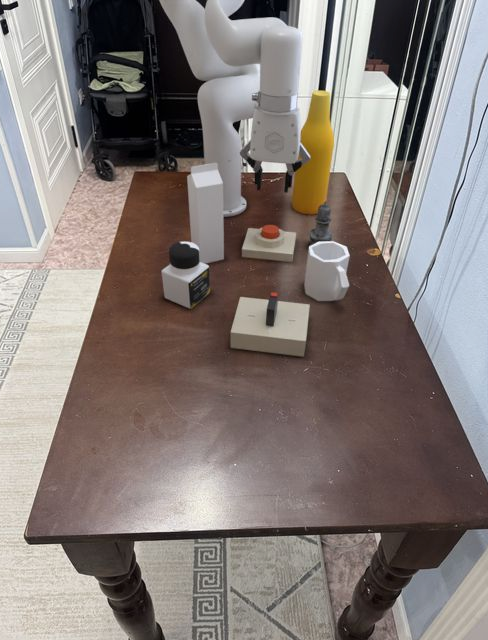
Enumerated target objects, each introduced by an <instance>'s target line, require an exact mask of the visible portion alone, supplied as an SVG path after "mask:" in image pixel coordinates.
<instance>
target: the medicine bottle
mask: <svg viewBox="0 0 488 640" xmlns="http://www.w3.org/2000/svg"><path fill="white" fill-rule="evenodd" d="M168 257H169V264H168V265H166V266H165V267H164V268H163V269H161V279H162V280H161V281H162V288H163V296H164V299H166V300H168V301H170V302H173V303H176V304H177V305H180V306H183V307H185V308H187V309H188V310H189V309H190V310H191V309H193V308H194V307H195V306H196V305H198V304H199V303H200V302H201V301H202V300H203V299H204V298H205V297H207V296H208V295H209V294H210V293H211V285H210V265H208V263H206V264H204V263H201V262H200V255H199V247H198V246H197V245H196V244H194V243H192V242H191V241H186V240H185V241H178V242H174V243H173V244H171V246H170V247H169V248H168Z"/></svg>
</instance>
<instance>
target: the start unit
mask: <svg viewBox="0 0 488 640" xmlns="http://www.w3.org/2000/svg"><path fill="white" fill-rule="evenodd" d="M296 240H297V232H295V231H284V230H283V229H281V228H279V236H278V238H275V239H266V238H264V237H262V227H260V228H255V227H254V228H253V227H248V228H247V231H246V235H245V237H244V241H243V244H242V247H241V258H248V259H249V258H250V259H258V260H269V261H278V262H288V263H293V260H294V253H295V246H296Z"/></svg>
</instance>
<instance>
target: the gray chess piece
mask: <svg viewBox="0 0 488 640" xmlns="http://www.w3.org/2000/svg"><path fill="white" fill-rule="evenodd" d="M331 211H332V208H331V206H330V205H329V204H328V202H327V200H326V201H325V202H324V204H322V205H320V206H319V208H318V214H316V215H317V216H316V217H315V218H314V220H315V227H314V228H312V229H310V230H309V232H308V236H309V239H310V242H309V243H308V248H309V247H310V246H311V245H313V244H315V243H317V242H325V241H332V239H333V238H334V233H333V231H331V230H330V229H329V227H330V223H331V221H332V219H331V217H330V216H331Z"/></svg>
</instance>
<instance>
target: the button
mask: <svg viewBox="0 0 488 640" xmlns="http://www.w3.org/2000/svg"><path fill="white" fill-rule="evenodd" d="M261 228H262V237H264V238H266V239H275V238H278V236H279V229H280V228H279V226H277V225H275V224H266V225H263V226H262V227H261Z"/></svg>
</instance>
